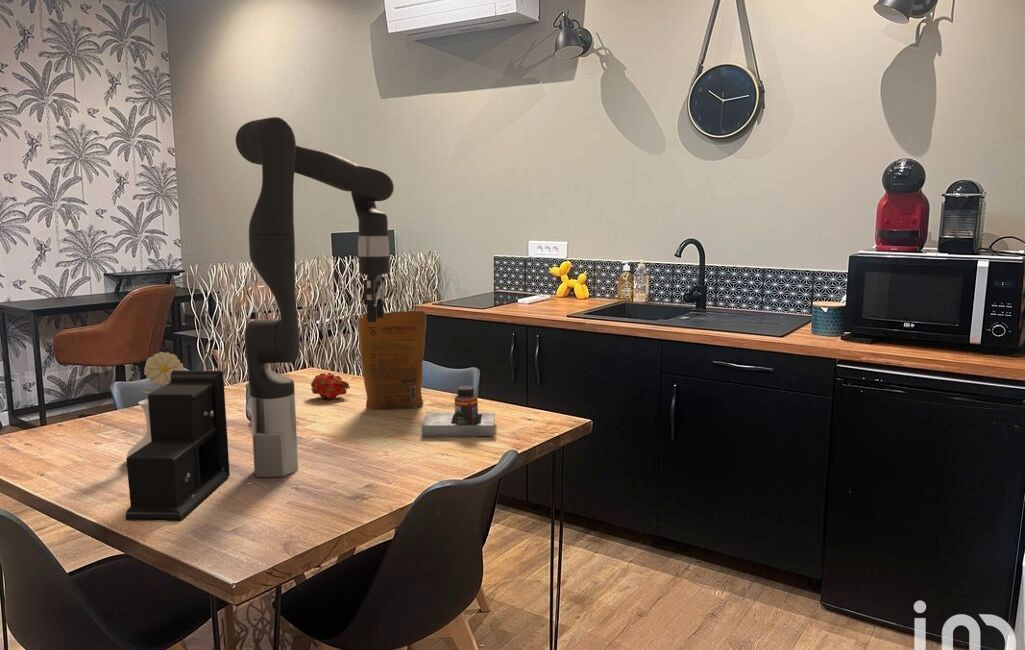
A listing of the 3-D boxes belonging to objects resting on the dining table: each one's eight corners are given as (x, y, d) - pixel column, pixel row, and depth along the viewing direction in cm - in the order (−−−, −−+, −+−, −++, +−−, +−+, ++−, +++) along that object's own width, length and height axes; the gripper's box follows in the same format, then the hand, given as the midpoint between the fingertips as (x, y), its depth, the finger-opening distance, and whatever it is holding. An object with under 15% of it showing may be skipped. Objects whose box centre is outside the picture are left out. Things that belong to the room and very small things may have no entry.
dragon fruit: (309, 401, 231) (347, 408, 230) (302, 391, 224) (341, 398, 222) (318, 376, 235) (355, 383, 234) (311, 365, 227) (350, 372, 226)
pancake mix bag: (428, 409, 216) (426, 312, 212) (360, 411, 214) (356, 313, 210) (428, 403, 223) (426, 308, 218) (362, 405, 221) (358, 309, 216)
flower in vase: (122, 470, 167) (112, 359, 163) (132, 454, 178) (124, 349, 174) (186, 465, 170) (178, 355, 166) (192, 449, 181) (185, 346, 177)
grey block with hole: (493, 437, 191) (493, 425, 190) (421, 437, 191) (421, 425, 190) (494, 423, 203) (494, 412, 202) (426, 423, 203) (426, 412, 202)
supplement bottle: (479, 427, 199) (479, 385, 198) (476, 434, 194) (476, 390, 192) (457, 426, 200) (456, 384, 198) (453, 433, 194) (452, 389, 192)
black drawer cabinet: (181, 522, 140) (172, 398, 137) (123, 521, 141) (113, 397, 137) (231, 477, 163) (224, 369, 160) (181, 476, 164) (173, 369, 160)
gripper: (383, 255, 181) (385, 323, 183) (394, 253, 195) (395, 316, 197) (351, 255, 181) (353, 323, 183) (365, 253, 195) (366, 316, 197)
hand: (375, 319), depth 190 cm, fingers open, 8 cm apart
